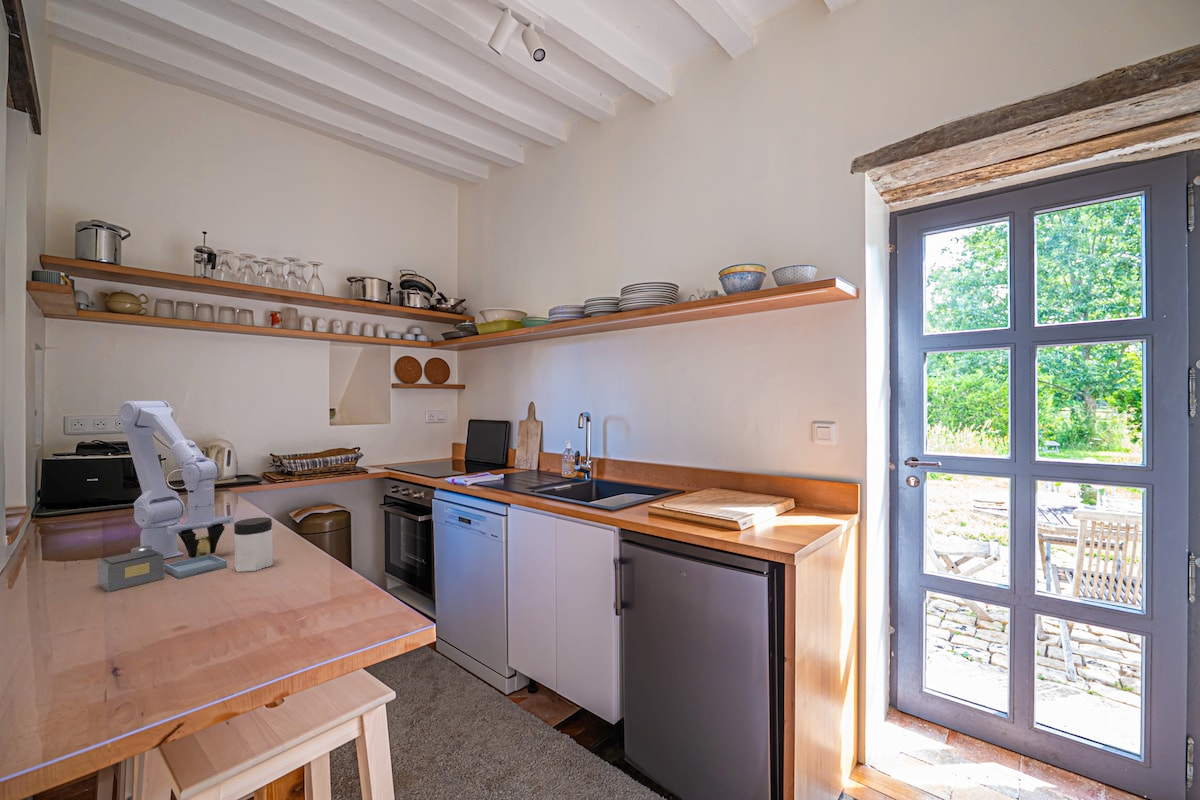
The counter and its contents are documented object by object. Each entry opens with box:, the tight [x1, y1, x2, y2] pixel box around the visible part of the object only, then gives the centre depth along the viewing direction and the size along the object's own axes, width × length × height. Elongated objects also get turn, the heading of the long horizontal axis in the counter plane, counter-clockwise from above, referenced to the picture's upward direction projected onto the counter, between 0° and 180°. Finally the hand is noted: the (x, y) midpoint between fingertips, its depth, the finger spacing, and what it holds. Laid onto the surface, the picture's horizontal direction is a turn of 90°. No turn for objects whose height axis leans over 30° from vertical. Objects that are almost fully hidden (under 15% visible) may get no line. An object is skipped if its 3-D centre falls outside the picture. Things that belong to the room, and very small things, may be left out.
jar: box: [233, 516, 274, 573], centre depth 133 cm, size 9×8×12 cm
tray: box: [164, 553, 228, 580], centre depth 131 cm, size 10×10×2 cm
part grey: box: [130, 546, 152, 553], centre depth 130 cm, size 4×4×6 cm
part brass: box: [194, 535, 212, 558], centre depth 139 cm, size 4×4×6 cm
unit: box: [97, 549, 165, 593], centre depth 122 cm, size 9×10×6 cm
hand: (201, 554), depth 139 cm, fingers closed on part brass, 4 cm apart
